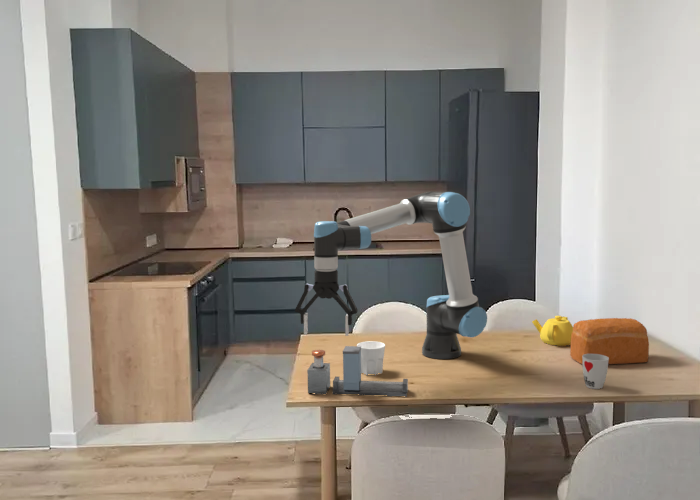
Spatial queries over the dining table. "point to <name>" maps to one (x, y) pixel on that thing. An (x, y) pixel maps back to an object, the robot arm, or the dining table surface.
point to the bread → (610, 340)
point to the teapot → (555, 331)
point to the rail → (369, 392)
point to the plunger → (318, 358)
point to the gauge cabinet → (319, 379)
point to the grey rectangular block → (351, 367)
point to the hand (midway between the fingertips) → (326, 334)
